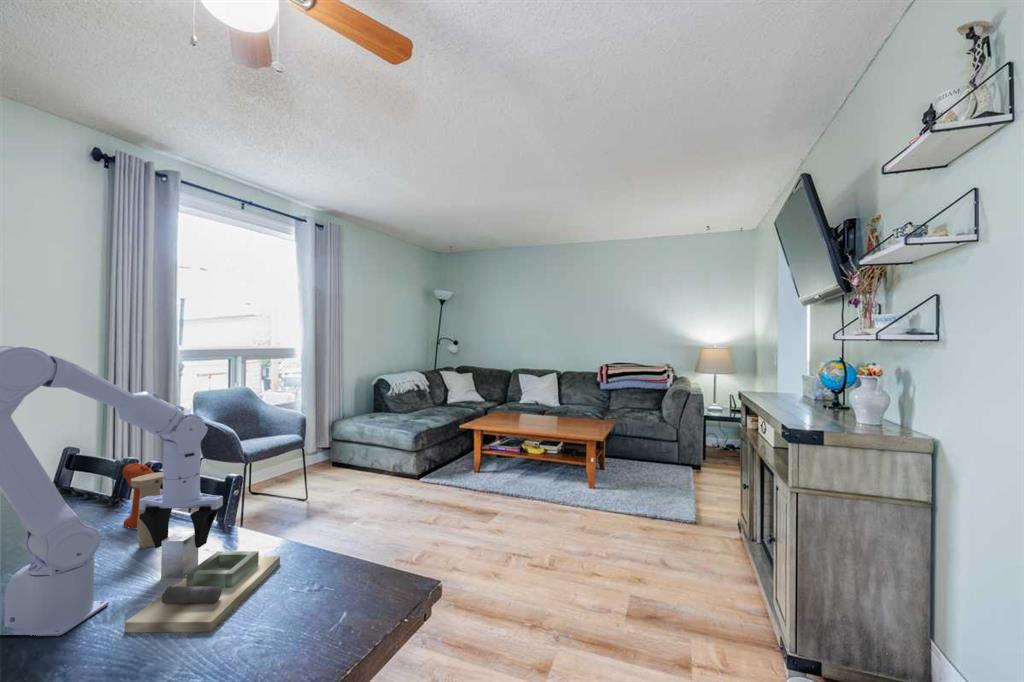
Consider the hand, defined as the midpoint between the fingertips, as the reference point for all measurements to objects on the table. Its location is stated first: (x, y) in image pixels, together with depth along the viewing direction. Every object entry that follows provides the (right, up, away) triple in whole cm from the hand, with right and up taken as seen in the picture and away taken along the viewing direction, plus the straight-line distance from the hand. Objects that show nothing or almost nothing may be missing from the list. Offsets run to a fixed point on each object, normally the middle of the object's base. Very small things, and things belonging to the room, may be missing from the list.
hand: (181, 545), depth 81 cm
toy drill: (-31, -5, +23) cm, 39 cm away
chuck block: (+11, -5, -7) cm, 14 cm away
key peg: (0, -5, 0) cm, 5 cm away
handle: (-15, -5, +11) cm, 19 cm away
